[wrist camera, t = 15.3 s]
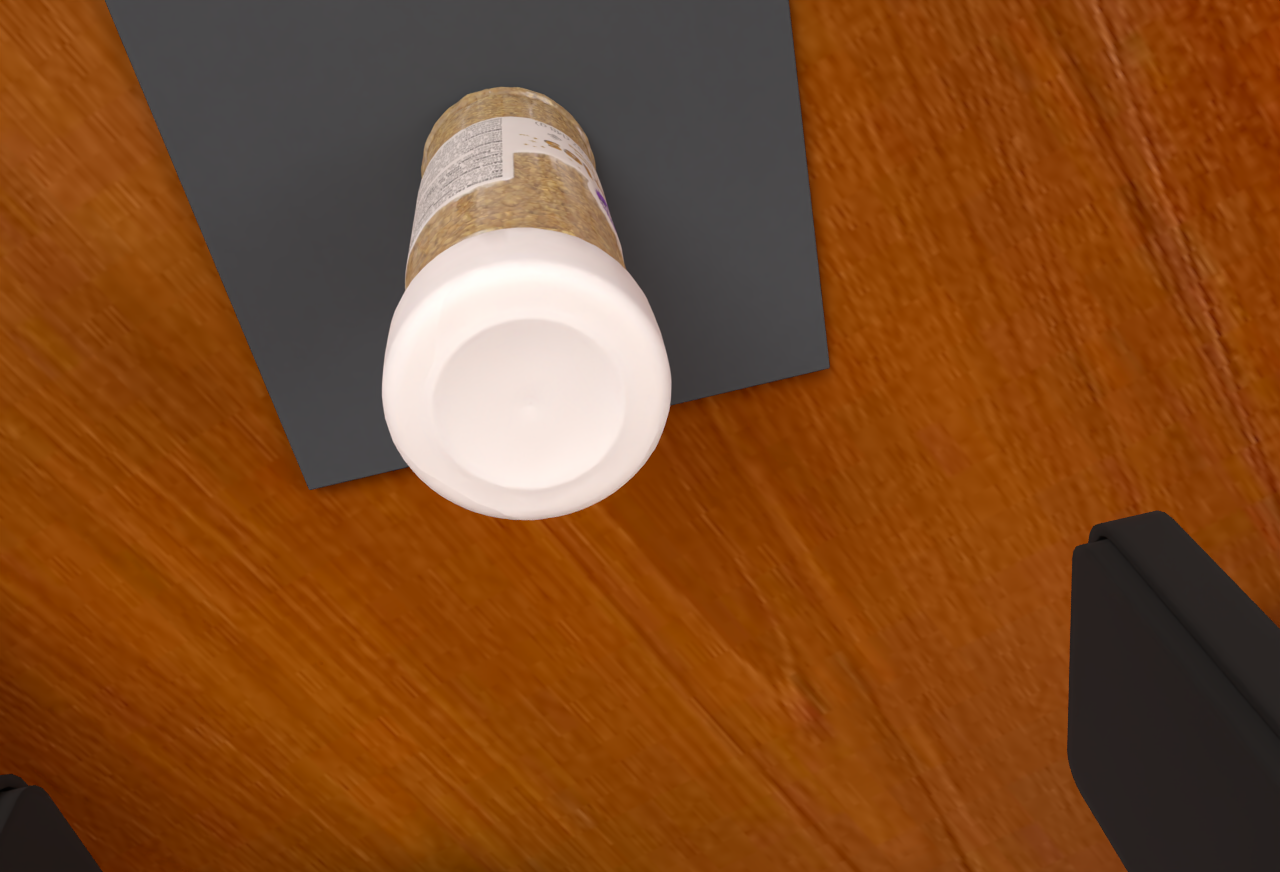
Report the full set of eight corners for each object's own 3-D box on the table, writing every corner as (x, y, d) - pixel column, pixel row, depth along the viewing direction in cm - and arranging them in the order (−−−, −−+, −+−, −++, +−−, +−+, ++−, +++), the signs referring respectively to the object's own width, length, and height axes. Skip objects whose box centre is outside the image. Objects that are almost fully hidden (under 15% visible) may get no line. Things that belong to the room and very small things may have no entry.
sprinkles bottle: (625, 194, 29) (728, 439, 17) (485, 284, 30) (492, 577, 18) (530, 43, 27) (575, 207, 15) (381, 143, 27) (313, 374, 16)
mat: (756, -250, 25) (760, -252, 24) (826, 363, 33) (830, 368, 32) (69, -98, 24) (63, -97, 24) (310, 483, 32) (308, 490, 32)
